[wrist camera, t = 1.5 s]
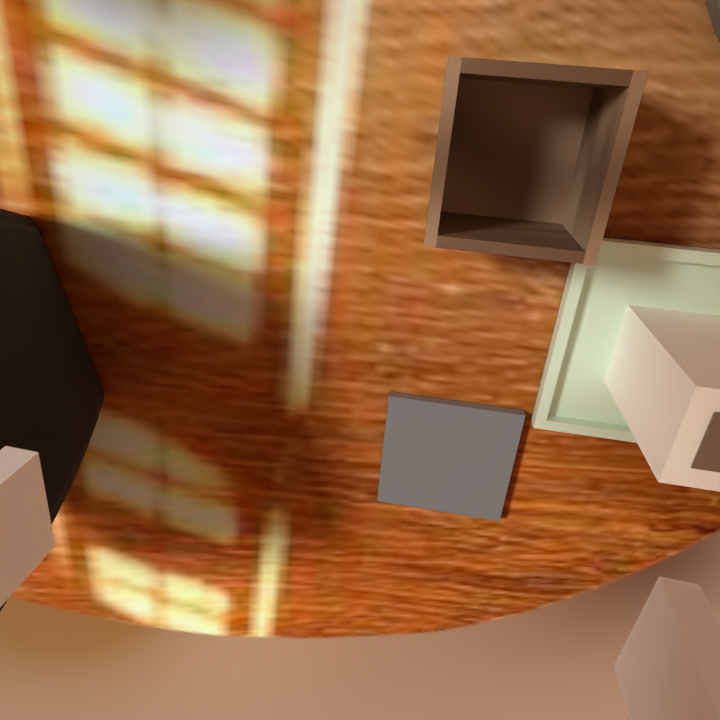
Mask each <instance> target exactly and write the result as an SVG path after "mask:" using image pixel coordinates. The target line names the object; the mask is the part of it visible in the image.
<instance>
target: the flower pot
mask: <svg viewBox="0 0 720 720" xmlns="http://www.w3.org/2000/svg"><path fill="white" fill-rule="evenodd" d="M103 397H104V393H103V388H102V386H101V384H100V381H99V379H98V376H97V374H96V371H95V369H94V366H93V364H92V361H91V359H90V356H89V353H88V351H87V348H86V346H85V343H84V341H83V338H82V336H81V333H80V331H79V328H78V326H77V323H76V321H75V318H74V315H73V313H72V310H71V308H70V306H69V303H68V301H67V298H66V296H65V293H64V290H63V288H62V286H61V283H60V280H59V278H58V275H57V273H56V270H55V268H54V265H53V263H52V260H51V258H50V255H49V253H48V250H47V248H46V245H45V243H44V240H43V238H42V235H41V233H40V231H39V228H38V226H37V225H36V223H35V222H34V221H33V220H32V219H30V218H28V217H26V216H24V215H21V214H18V213H15V212H11V211H7V210H4V209H0V450H1V449H2V448H4V447H5V446H9V447H14V448H19V449H24V450H29V451H34V452H38V453H39V458H40V464H41V470H42V475H43V481H44V486H45V492H46V497H47V503H48V508H49V514H50V519H51V525H52V523H53V521H54V519H55V517H56V515H57V513H58V511H59V509H60V507H61V505H62V503H63V501H64V500H65V498H66V496H67V493H68V491H69V489H70V487H71V484H72V482H73V480H74V478H75V476H76V473H77V471H78V469H79V467H80V464H81V462H82V459H83V457H84V454H85V452H86V449H87V447H88V444H89V441H90V439H91V436H92V433H93V430H94V427H95V424H96V422H97V420H98V416H99V412H100V409H101V405H102V402H103ZM8 599H9V598H8ZM8 599H7V600H8ZM7 600H6V602H7ZM6 602H5V603H6ZM5 603H4V604H3V605H2V606H1V607H0V611H1V609H2V608H3V606H4V605H5Z"/></svg>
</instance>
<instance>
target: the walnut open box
mask: <svg viewBox="0 0 720 720" xmlns="http://www.w3.org/2000/svg"><path fill="white" fill-rule="evenodd" d="M647 75H648V71H635V70H622V69H609V68H595V67H582V66H569V65H556V64H543V63H530V62H517V61H504V60H491V59H478V58H464V57H451V56H448V62H447V69H446V77H445V85H444V93H443V100H442V108H441V116H440V124H439V132H438V139H437V147H436V155H435V163H434V170H433V178H432V186H431V194H430V201H429V209H428V217H427V225H426V233H425V240H424V246H427V247H436V248H445V249H454V250H462V251H471V252H480V253H489V254H498V255H507V256H516V257H524V258H533V259H542V260H551V261H560V262H569V263H578V264H586V265H596V261H597V258H598V254H599V250H600V247H601V243H602V239H603V236H604V232H605V228H606V225H607V221H608V218H609V214H610V210H611V207H612V203H613V199H614V196H615V192H616V188H617V185H618V181H619V177H620V174H621V170H622V166H623V163H624V159H625V156H626V152H627V148H628V145H629V141H630V137H631V134H632V130H633V126H634V123H635V119H636V115H637V112H638V108H639V104H640V101H641V97H642V93H643V90H644V86H645V83H646V79H647Z"/></svg>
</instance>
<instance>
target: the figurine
mask: <svg viewBox="0 0 720 720" xmlns="http://www.w3.org/2000/svg"><path fill="white" fill-rule="evenodd" d="M707 5H708V10H709V15H710V18H711V22H712V25H713V28H714V31H715V33H716V35H717V37H718V39H719V41H720V0H707Z"/></svg>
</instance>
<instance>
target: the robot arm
mask: <svg viewBox="0 0 720 720" xmlns="http://www.w3.org/2000/svg"><path fill="white" fill-rule="evenodd" d="M54 546H55V542H54V536H53V531H52V525H51V519H50V514H49V508H48V503H47V497H46V492H45V486H44V481H43V475H42V470H41V464H40V458H39V453H38V452H34V451H29V450H24V449H19V448H14V447H9V446H5V447H4V448H2V449H1V450H0V607H1V606H2V605H3V604H4V603H5V602H6V600H7V599H8V598H9V597H10V596H11V595H12V594H13V593H14V591H15V590H16V589H17V588H18V587H19V586H20V585H21V584H22V582H23V581H24V580H25V579H26V578H27V577H28V576H29V575H30V573H31V572H32V571H33V570H34V569H35V568H36V567H37V566H38V564H39V563H40V562H41V561H42V560H43V559H44V558H45V557H46V555H47V554H48V553H49V552H50V551H51V550H52V549H53V548H54ZM614 668H615V672H616V675H617V679H618V682H619V686H620V689H621V693H622V696H623V700H624V703H625V707H626V711H627V714H628V718H629V720H720V624H719V622H718V620H717V618H716V616H715V615H714V613H713V610H712V608H711V607H710V604H709V602H708V601H707V599H706V597H705V595H704V593H703V591H702V589H701V587H700V585H699V584H695V583H689V582H684V581H680V580H674V579H670V578H664V577H660V576H659V578H658V580H657V582H656V584H655V586H654V588H653V590H652V592H651V594H650V596H649V598H648V599H647V601H646V603H645V605H644V607H643V609H642V612H641V613H640V615H639V617H638V619H637V622H636V623H635V625H634V627H633V629H632V631H631V633H630V635H629V637H628V639H627V641H626V643H625V645H624V647H623V649H622V651H621V653H620V655H619V657H618V659H617V660H616V662H615V664H614Z"/></svg>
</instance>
